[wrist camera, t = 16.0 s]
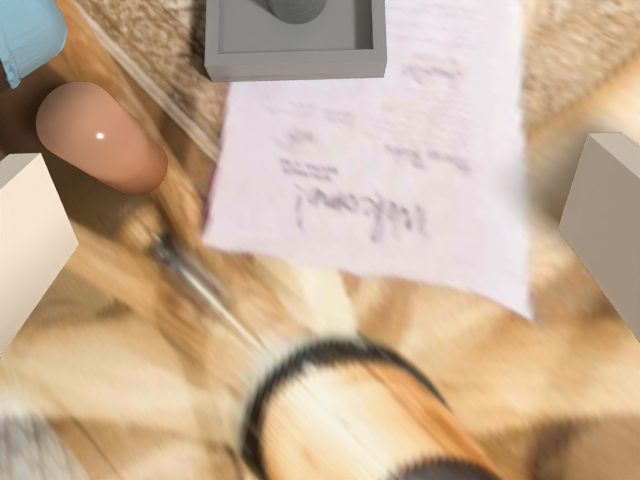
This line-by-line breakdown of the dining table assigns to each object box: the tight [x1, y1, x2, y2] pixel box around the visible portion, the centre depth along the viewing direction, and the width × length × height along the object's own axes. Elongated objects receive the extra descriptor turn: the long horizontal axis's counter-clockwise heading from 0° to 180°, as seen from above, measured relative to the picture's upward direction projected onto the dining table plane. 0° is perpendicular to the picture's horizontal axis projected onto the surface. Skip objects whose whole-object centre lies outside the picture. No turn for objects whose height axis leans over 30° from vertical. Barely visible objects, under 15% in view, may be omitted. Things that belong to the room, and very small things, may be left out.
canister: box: [36, 81, 167, 196], centre depth 33 cm, size 5×5×9 cm
